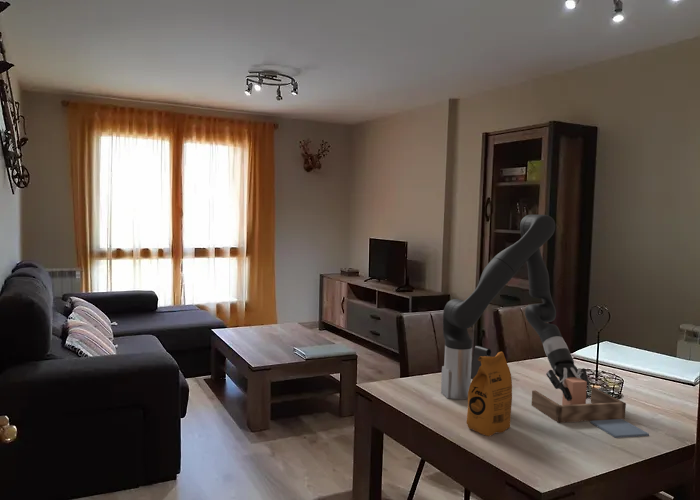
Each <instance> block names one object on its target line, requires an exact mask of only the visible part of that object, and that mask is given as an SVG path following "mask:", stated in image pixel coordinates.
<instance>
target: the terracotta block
mask: <svg viewBox="0 0 700 500" xmlns="http://www.w3.org/2000/svg"><path fill="white" fill-rule="evenodd" d="M566 384H567V388H568V389H569V391H570V394H571V396H572V399H571V400H570V401H567V399H565V397H564V394H563V393H562V402H561V405H572V404H587V399H586V391H587V389H588V388H587V386H588V385H587V382H586V381H584V380H582V379H580V378H575V377H569V378H567V379H566Z"/></svg>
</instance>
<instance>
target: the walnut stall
mask: <svg viewBox="0 0 700 500" xmlns="http://www.w3.org/2000/svg"><path fill="white" fill-rule="evenodd" d="M531 406H532V407H533V408H534V409H537V411H539V412H541V413H542V414H544V415H545V416H547V417H548V418H550V419H552V420H553V421H554V422H556V423H558V424H560V423H563V424H564V423H575V422H576V423H577V422H578V423H579V422H590V421H595V420H612V419H623V420H625V419H626V406H627V403H626V402H624V401H622V400H620V399H618V398H617V397H614V396H612V395H610V394H608V393H606V392H604V391H602V390H600V389H597V388H596V387H591V392H590V403H586V404H572V405H562V404H559V403H557V402H555V401H554V400H552V399H551V398H549V397H548V396H545V395H544V394H542V393H541V392H539V391H537V390H535V389H534V390H531Z"/></svg>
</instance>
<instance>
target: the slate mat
mask: <svg viewBox="0 0 700 500" xmlns="http://www.w3.org/2000/svg"><path fill="white" fill-rule="evenodd" d="M589 423H590V424H592V425H593V426H595V427H596V428H598V429H600V430H602V431H603V432H605V433H607V434H608V435H610V436H612V437H613V438H616V439H618V438H631V437H645V436H646V437H648V436H650V433H649V432H647V431H645V430H643V429H642V428H639V426H638V427H637V426H635V424H632V423H630V422H629V421H627V420H625V419H612V420H595V421H589Z"/></svg>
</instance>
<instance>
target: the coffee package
mask: <svg viewBox="0 0 700 500" xmlns="http://www.w3.org/2000/svg"><path fill="white" fill-rule="evenodd" d="M478 360H479V361H481V366H480V367H479V370H478V373H477V375H476V376H475V377H474V378H473V379H471V384H470V387H469V391H468V398H467V410H466V411H467V412H466V422H465V423H466V425H467V427H468V429H469V430H473V431H475V432H476V433H478V434H480V435H483V436H486V437H491V436H493V435H494V434H497V433H499V434H500V433H502V434H503V433H505V431H507V430H508V429H510V428H511V416H512V415H511V414H512V403H513V382H512V380H513V379H512V373H511V371H510V366H509V365H508V362H507V358H506V357H505V354H504V352H503V351H499V352H497V354H496V355H495V356H491V357H487V356H484V357H482V356H480V357H479V358H478Z"/></svg>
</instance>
